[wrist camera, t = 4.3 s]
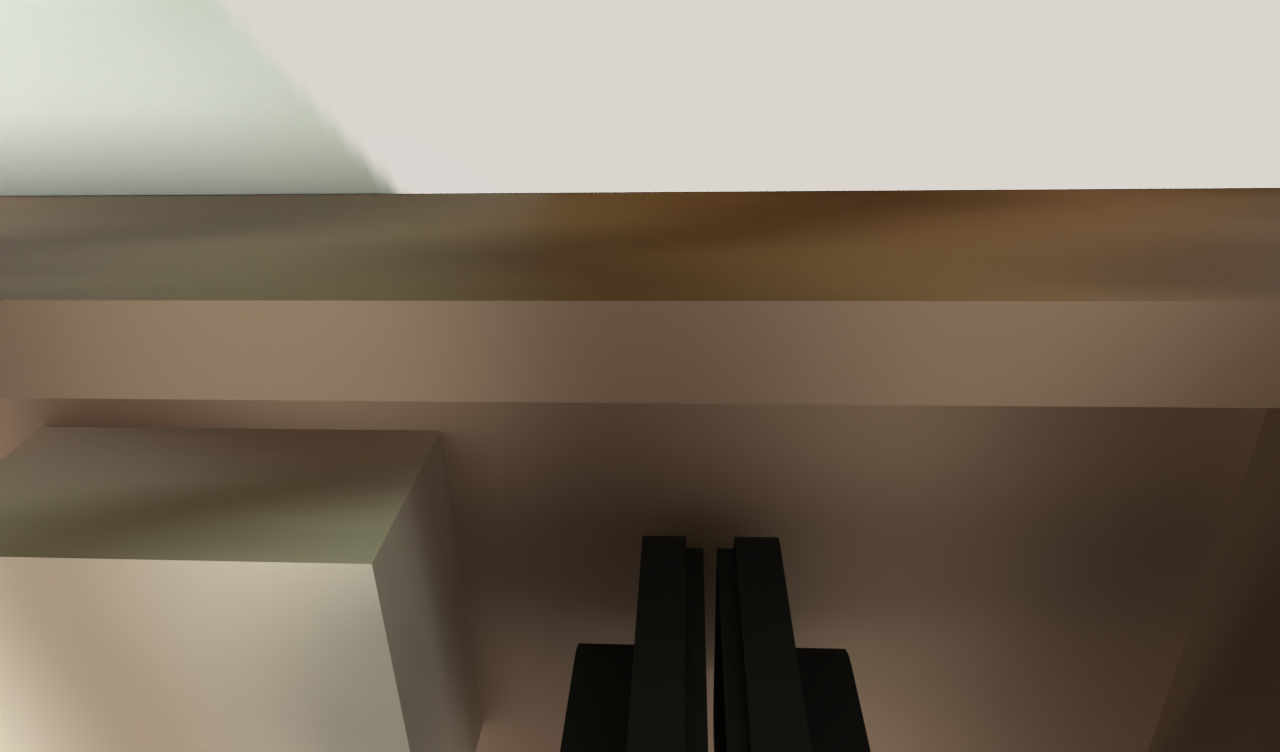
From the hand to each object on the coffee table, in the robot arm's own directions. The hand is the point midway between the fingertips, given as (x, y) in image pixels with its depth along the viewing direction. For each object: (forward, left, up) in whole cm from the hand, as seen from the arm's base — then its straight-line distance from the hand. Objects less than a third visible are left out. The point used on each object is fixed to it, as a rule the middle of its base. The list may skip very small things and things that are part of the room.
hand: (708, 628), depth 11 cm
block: (+6, 0, -1) cm, 6 cm away
